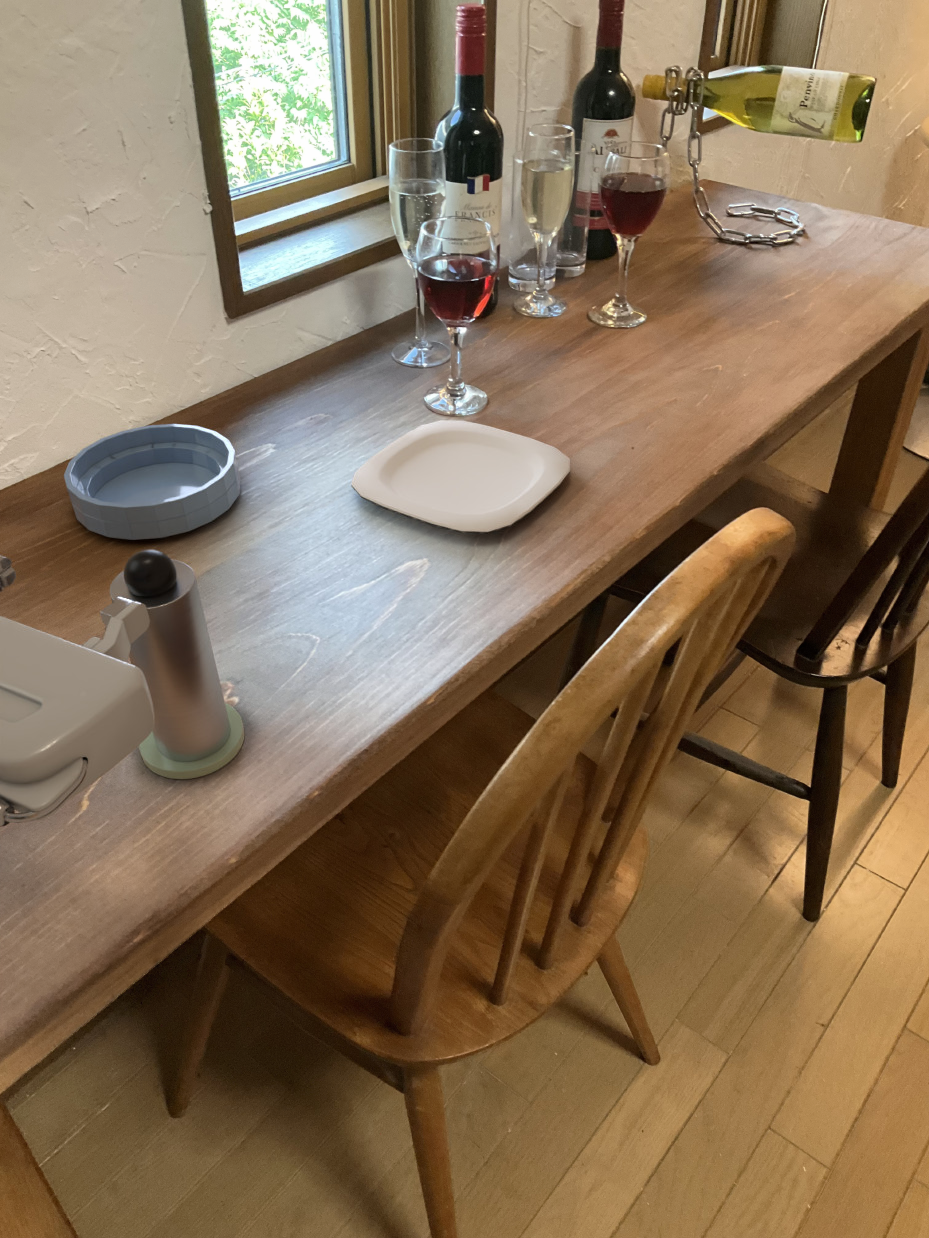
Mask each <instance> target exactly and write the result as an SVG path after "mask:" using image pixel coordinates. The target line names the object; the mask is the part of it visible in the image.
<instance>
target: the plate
mask: <svg viewBox="0 0 929 1238" xmlns="http://www.w3.org/2000/svg"><path fill="white" fill-rule="evenodd" d="M570 460H571V459H570V457H568V456H567V455H566V454H565V453H563V452H562V451H560V450H559V449H558V448H556V447H555V446H552V445H550V444H547V443H545V442H542V441H539V440H537V439H534V438H531V437H528V436H524V435H521V434H518V433H515V432H511V431H509V430H504V429H500V428H497V427H493V426H489V425H485V424H482V423H477V422H472V421H466V420H454V419H453V420H451V419H450V420H449V419H447V420H446V419H441V420H436V421H432V422H429V423H425V424H421V425H418V426H417V427H415V428H414V429H412V430H410V431H408V432H406V433H405V434H402V436H399V438H396V439H395V440H394V441H392V442H391V443H389V444H387V445H386V446H385V447H384V448H382V449H381V450H380V451H378V452H377V453H375V454H374V455H373V456H371V457H370V458H369V459H367V460H366V462H364V463H363V465H361V466H360V467H359V468H357V470H355V471H354V475H353V478H352V481H351V483H350V486H351V488H352V489H353V490H354V491H355V492H356V493H357V494H358V495H359V497H360V498H361V499H363V500H366V501H367V502H370V503H371V504H374V505H376V506H378V507H380V508H381V509H384V510H387V511H390V512H392V513H395V514H398V515H399V516H404V517H406V518H408V519H412V520H414V521H417V522H421V523H423V524H426V525H429V526H432V527H435V528H440V529H444V530H447V531H450V532H451V531H452V532H455V533H460V534H481V535H482V534H483V535H487V534H491V533H494V532H498V531H501V530H504V529H507V528H510V527H512V526H513V525H515V524H516V523H517V522H520V521H521V520H522V519H524V518H525V517H527V516H528V515H529V514H531V513H532V512H533V511H534V510H535V509H536V508H537V507H538V506H539V505H540V504H542V503H543V502H544V501H545V500H546V499H547V498H548V497H550V495H551V494H553V492H554V491H556V490H557V489H558V488H559V487H560V485H562V483H563V482H564V481H565V479H566V478H567V477H568V475H569V474H570V471H571V461H570Z"/></svg>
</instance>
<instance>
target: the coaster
mask: <svg viewBox="0 0 929 1238" xmlns="http://www.w3.org/2000/svg"><path fill="white" fill-rule="evenodd" d="M225 705H226V710H227V714H228V718H229V723H230V728H231V731H230V736H229V738H228V740H227V742H226V743H225V745H224V746H223V747H222V748H221V749H220V750H219V751H217V752H216V753H214V754H213V755H211V756H209V757H207V758H204V759H201V760H197V761H192V762H178V761H174V760H171V759H168V758H166V757H165V756H163V755H162V754H161V753H160V752H159V750H158V748H157V746H156V742H155V739H154V736H153V733H152V732H151V733H150V735H149V736H148V737H147V738H146V739H145V740H144V741H143V742H142V743H141V744H140V745H139V746H138V749H139V753H140V756H141V758H142V761H143V763H144V765H145V766H146V767H147V768H148V769H149V770H150V771H152V772H153V773H155V774H157V775H158V776H161V777H163V778H167V779H173V780H190V779H196V778H200V777H205V776H207V775H210V774H212V773H214V772H216V771H218V770H220V769H222V768H224V767H225V766H226V765H227V764H229V763H230V762H231V761H232V760H233V759H234V758H235V757H236V756H237V755H238V754H239V752H240V750H241V748H242V746H243V743H244V741H245V727H244V723H243V719H242V716H241V714H240V713H239V712H238V710H236V708H235V707H233V706H232V705H231V704H228V703H227V702H225Z"/></svg>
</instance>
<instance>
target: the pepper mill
mask: <svg viewBox="0 0 929 1238" xmlns="http://www.w3.org/2000/svg"><path fill="white" fill-rule="evenodd" d="M109 595H110V599H111V602H112V603H111V604H113V603H114V600H115V599H116V598H118V597H125V598H128V599H131V600H134V601H137V602H140V603H143V604H145V606H146V608H147V612H148V616H149V619H150V623H149V627H148V629H147V630H146V631H145V632H144V633H143V634H142V635H141V636H140V637H138V638H137V639H136V640H135V641H134V642H133V643H132V644H131V645H130V646H131V648H130V653H129V657H128V659H129V661H130V664H132V665H135V666H137V667H139V668H140V669H141V670H142V672H143V674H144V676H145V679H146V682H147V685H148V688H149V691H150V694H151V698H152V703H153V707H154V727H153V730H152V733H153V736H154V739H155V742H156V746H157V748H158V750H159V752H160V753H161V754H162V755H163V756H165V757H166V758H168V759H171V760H174V761H178V762H192V761H197V760H201V759H204V758H207V757H209V756H211V755H213V754H214V753H216V752H217V751H219V750H220V749H221V748H222V747H223V746H224V745H225V743H226V742H227V740H228V738H229V736H230V731H231V728H230V723H229V718H228V714H227V710H226V705H225V703H226V702H225V698H224V693H223V688H222V684H221V681H220V676H219V671H218V668H217V663H216V659H215V654H214V649H213V646H212V641H211V638H210V634H209V633H210V632H209V629H208V624H207V620H206V616H205V612H204V608H203V603H202V600H201V599H202V598H201V595H200V590H199V586H198V581H197V577H196V574H195V571H194V569H193V568H192V567H191V566H190V565H188V564H187V563H185V562H183V561H181V560H176V559H172V558H171V557H170V556H168V555H167V554H166V553H164V552H163V551H160V550H157V549H143V550H140V551H138V552H136V553H134V554H133V555H132V556H130V557H129V559H128V560H127V561H126V563H125V566H124V568H123V570H122V571H120V573H119V574H117V575H116V576H115V577H114V578H113V580H112V582H111V583H110V587H109Z"/></svg>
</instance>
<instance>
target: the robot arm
mask: <svg viewBox="0 0 929 1238" xmlns="http://www.w3.org/2000/svg"><path fill="white" fill-rule="evenodd" d="M12 565H13V563H12V560H11V558H9V557H6V556H5V555H1V554H0V593H1V592H3V591H4V590H5V589H4V588H6V587H10V586H11V585H12V584H14V582H15V581H16V579H17V578H16V577H17V574H16V570H15V569H14V568H13V567H12ZM99 615H100V618H101V621H102V623H103V625H104V626H105V627H104V630H105V633H104V635H103V637H102V639H101V638H100V637H97V636H92V637H90V638H89V639H87V640H86V641H85V642H84V643H82V644H78V643H75V642H72V641H71V640H67V639H64V638H62V637H59V636H56V635H54V634H51V633H48V632H45V631H43V630H40V629H37V628H34V627H33V626H29V625H28V624H27V625H26V624H24V623H22V622H18V621H15V620H13V619H10V618H8V617H5V616H2V615H0V828H2V827H6V826H8V825H10V823H14V824H21V823H28V822H33V821H43V820H46V819H47V818H49V817H51V816H52V815H54V814H56V813H57V812H58V811H59V810H60V809H61V808H62V807H63V806H64V805H65V804H66V803H67V802H68V801H70V800H72V799H73V798H75V797H76V796H77V795H79V794H80V793H82V792H83V791H85V790H86V789H87V788H89V787H90V786H92V785H93V784H94V783H95V782H97V781H98V780H99V779H101V778H102V777H103V776H104V775H106V774H107V773H108V772H110V771H111V770H112V769H113V768H115V767H116V766H117V765H118V764H119V763H121V762H122V761H123V760H124V759H126V758H127V756H129V755H130V754H131V753H132V752H133V751H135V750H136V749H137V748H139V745H140V744H141V743H142V742H143V741H144V740H145V739H146V738H147V737H148V736H149V735H150V733H151V732H152V730H153V727H154V707H153V703H152V698H151V694H150V691H149V688H148V685H147V682H146V679H145V676H144V674H143V672H142V670H141V669H140V668H139V667H137V666H135V665H132V664H131V662H130V663H129V662H128V661H129V653H130V648H131V646H130V645H131V644H132V643H133V642H134V641H135V640H136V639H137V638H138V637H140V636H141V635H142V634H143V633H144V632H145V631H146V630H147V629H148V627H149V623H150V619H149V616H148V612H147V608H146V606H145V604H143V603H140V602H137V601H134V600H131V599H128V598H125V597H118V598H116V599H115V600H114V603H110V604H108V605H106V606H105V607H104V608H103V609H102V610H100V611H99ZM15 811H16V812H15Z"/></svg>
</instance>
